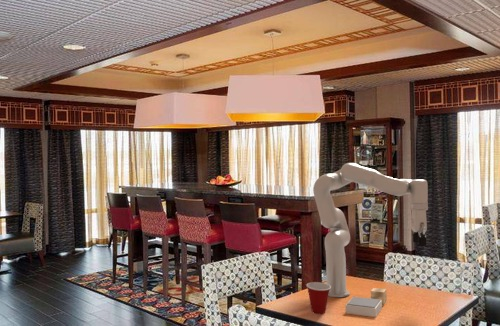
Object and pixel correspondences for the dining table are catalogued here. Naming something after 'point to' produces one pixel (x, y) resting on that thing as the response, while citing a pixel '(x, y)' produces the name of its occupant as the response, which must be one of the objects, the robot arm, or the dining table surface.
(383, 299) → the oak cube
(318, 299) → the plastic cup
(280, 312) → the dining table surface
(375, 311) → the plinth
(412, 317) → the dining table surface
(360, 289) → the dining table surface
